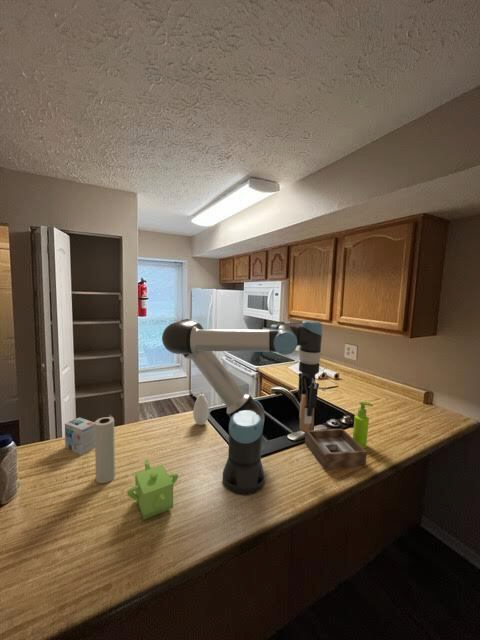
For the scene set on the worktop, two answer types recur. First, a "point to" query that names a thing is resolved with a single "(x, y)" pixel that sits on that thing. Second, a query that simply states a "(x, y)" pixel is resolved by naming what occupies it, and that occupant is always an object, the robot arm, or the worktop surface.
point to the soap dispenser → (361, 425)
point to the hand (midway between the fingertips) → (305, 420)
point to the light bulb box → (80, 435)
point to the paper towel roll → (104, 449)
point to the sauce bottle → (201, 410)
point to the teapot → (153, 490)
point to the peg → (303, 426)
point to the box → (335, 448)
